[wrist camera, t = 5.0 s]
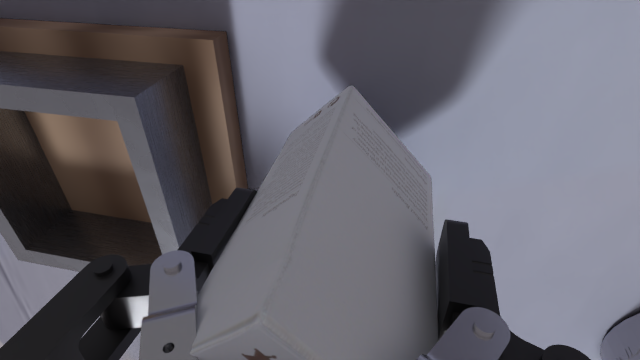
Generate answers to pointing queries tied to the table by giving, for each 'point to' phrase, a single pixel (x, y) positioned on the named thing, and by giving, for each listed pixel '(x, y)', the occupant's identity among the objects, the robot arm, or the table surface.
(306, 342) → the skincare box
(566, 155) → the table surface
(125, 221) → the socket board
